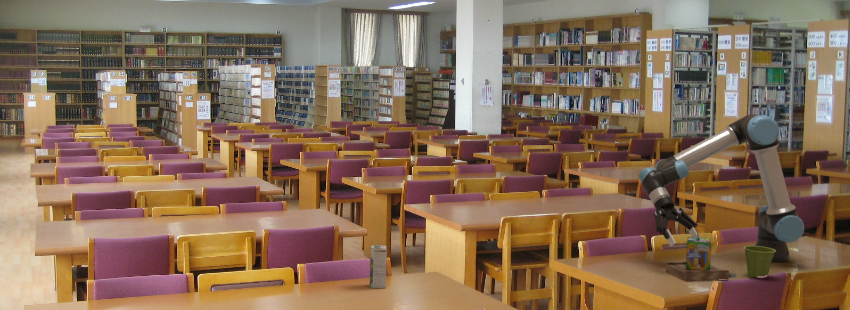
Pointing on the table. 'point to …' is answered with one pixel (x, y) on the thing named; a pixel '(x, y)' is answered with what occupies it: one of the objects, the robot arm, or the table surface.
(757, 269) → the plant pot
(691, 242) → the chalk box
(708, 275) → the tray
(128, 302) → the table surface
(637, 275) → the table surface
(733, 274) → the grey stepped bar
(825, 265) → the table surface
